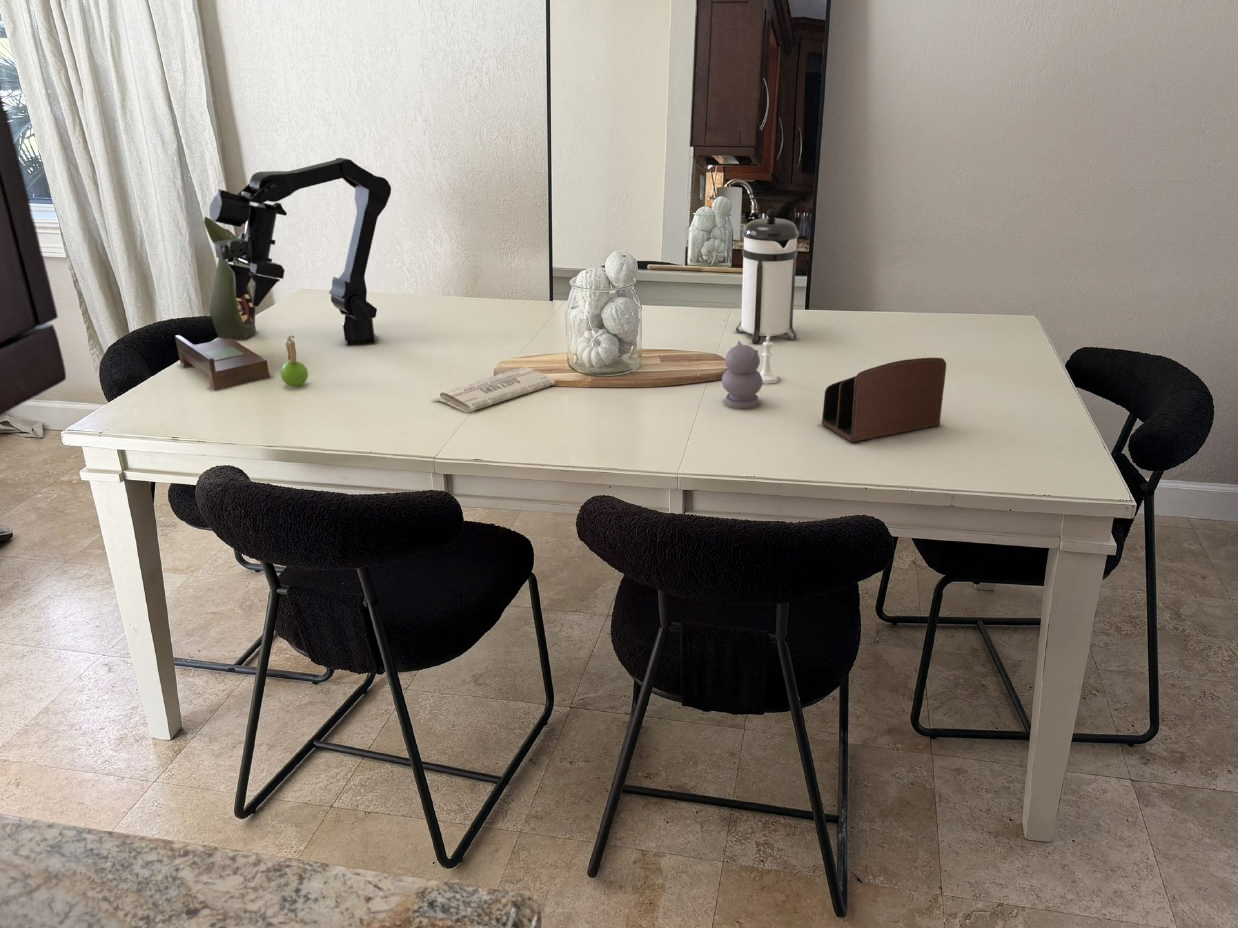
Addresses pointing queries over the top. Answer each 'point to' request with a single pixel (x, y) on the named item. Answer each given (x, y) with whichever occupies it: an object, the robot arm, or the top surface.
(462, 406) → the newspaper
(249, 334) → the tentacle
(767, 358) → the chess piece
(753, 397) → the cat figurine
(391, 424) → the top surface
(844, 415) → the letter holder
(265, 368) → the wooden display stand
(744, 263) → the coffee press
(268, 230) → the robot arm
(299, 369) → the snail figurine
